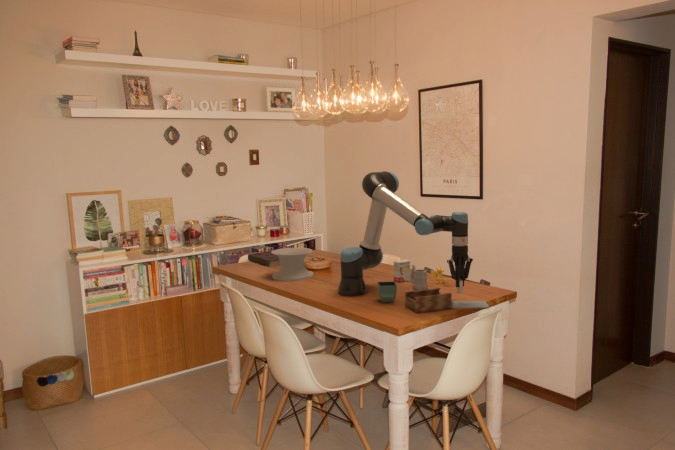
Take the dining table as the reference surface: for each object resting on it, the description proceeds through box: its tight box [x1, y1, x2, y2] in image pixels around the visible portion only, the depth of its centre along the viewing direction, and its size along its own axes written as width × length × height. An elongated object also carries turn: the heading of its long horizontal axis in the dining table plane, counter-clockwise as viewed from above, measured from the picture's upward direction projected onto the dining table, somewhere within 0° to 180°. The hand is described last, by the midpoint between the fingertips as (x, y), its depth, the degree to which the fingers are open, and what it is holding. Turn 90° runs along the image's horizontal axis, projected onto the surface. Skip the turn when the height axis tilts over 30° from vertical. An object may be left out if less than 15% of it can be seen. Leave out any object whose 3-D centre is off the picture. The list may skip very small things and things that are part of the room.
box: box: [404, 287, 453, 314], centre depth 253 cm, size 18×12×7 cm, turn 108°
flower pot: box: [376, 281, 398, 303], centre depth 266 cm, size 9×9×9 cm
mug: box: [410, 264, 429, 291], centre depth 291 cm, size 8×12×12 cm, turn 31°
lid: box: [452, 299, 490, 309], centre depth 256 cm, size 18×10×3 cm, turn 83°
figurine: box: [430, 266, 454, 284], centre depth 300 cm, size 12×12×9 cm
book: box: [247, 250, 281, 268], centre depth 376 cm, size 30×22×5 cm
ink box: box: [393, 258, 411, 283], centre depth 307 cm, size 9×5×12 cm, turn 120°
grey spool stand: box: [271, 247, 314, 282], centre depth 326 cm, size 25×25×16 cm
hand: (459, 293), depth 258 cm, fingers closed
